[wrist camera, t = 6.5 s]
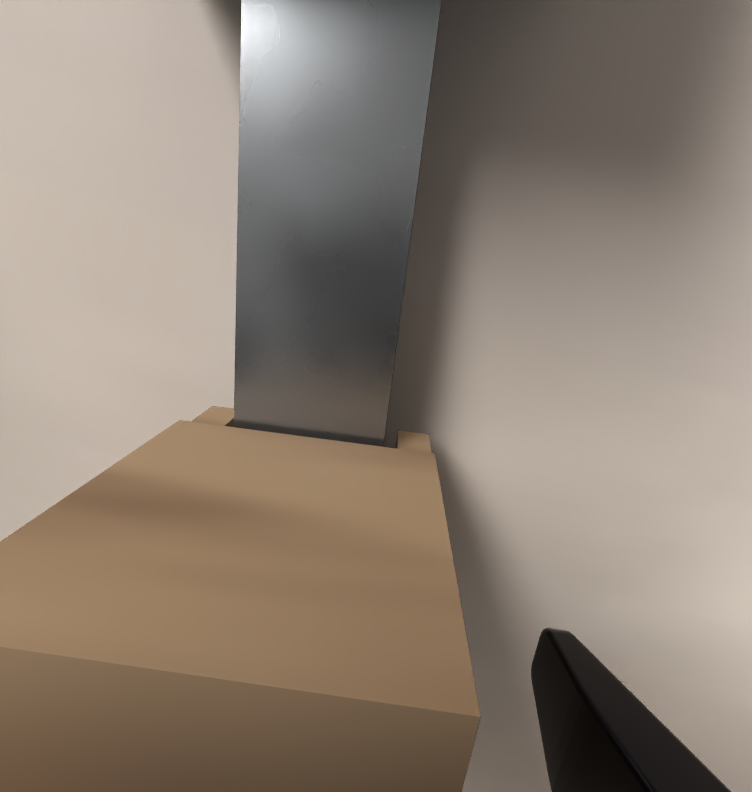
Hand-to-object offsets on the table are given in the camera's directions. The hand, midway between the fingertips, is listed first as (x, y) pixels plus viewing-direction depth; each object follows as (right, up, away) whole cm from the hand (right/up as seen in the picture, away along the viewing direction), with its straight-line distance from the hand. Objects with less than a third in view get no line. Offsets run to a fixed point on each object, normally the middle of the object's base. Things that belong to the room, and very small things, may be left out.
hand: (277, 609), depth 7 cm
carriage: (0, +1, +3) cm, 3 cm away
